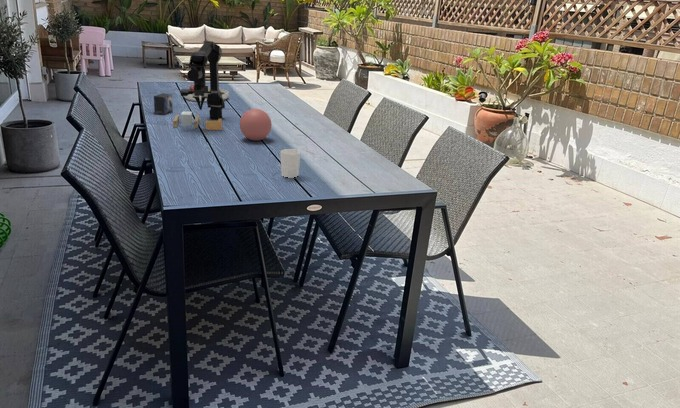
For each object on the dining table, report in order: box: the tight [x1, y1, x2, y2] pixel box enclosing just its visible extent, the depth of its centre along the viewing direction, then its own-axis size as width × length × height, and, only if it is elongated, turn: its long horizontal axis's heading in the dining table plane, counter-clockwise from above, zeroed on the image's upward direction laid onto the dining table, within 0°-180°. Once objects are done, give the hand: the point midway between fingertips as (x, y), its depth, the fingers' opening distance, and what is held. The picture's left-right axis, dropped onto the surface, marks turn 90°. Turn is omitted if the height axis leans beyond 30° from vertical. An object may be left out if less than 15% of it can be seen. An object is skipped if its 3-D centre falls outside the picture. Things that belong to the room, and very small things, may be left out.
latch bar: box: [205, 118, 223, 131], centre depth 280 cm, size 8×2×6 cm, turn 100°
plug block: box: [180, 111, 193, 127], centre depth 289 cm, size 5×8×6 cm, turn 10°
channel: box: [172, 114, 200, 129], centre depth 288 cm, size 12×16×4 cm
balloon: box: [239, 108, 272, 142], centre depth 265 cm, size 15×20×15 cm
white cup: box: [280, 148, 302, 179], centre depth 214 cm, size 8×8×10 cm
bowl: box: [183, 84, 230, 103], centre depth 360 cm, size 30×30×8 cm
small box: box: [153, 93, 174, 116], centre depth 310 cm, size 11×6×10 cm, turn 168°
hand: (200, 109), depth 276 cm, fingers closed
